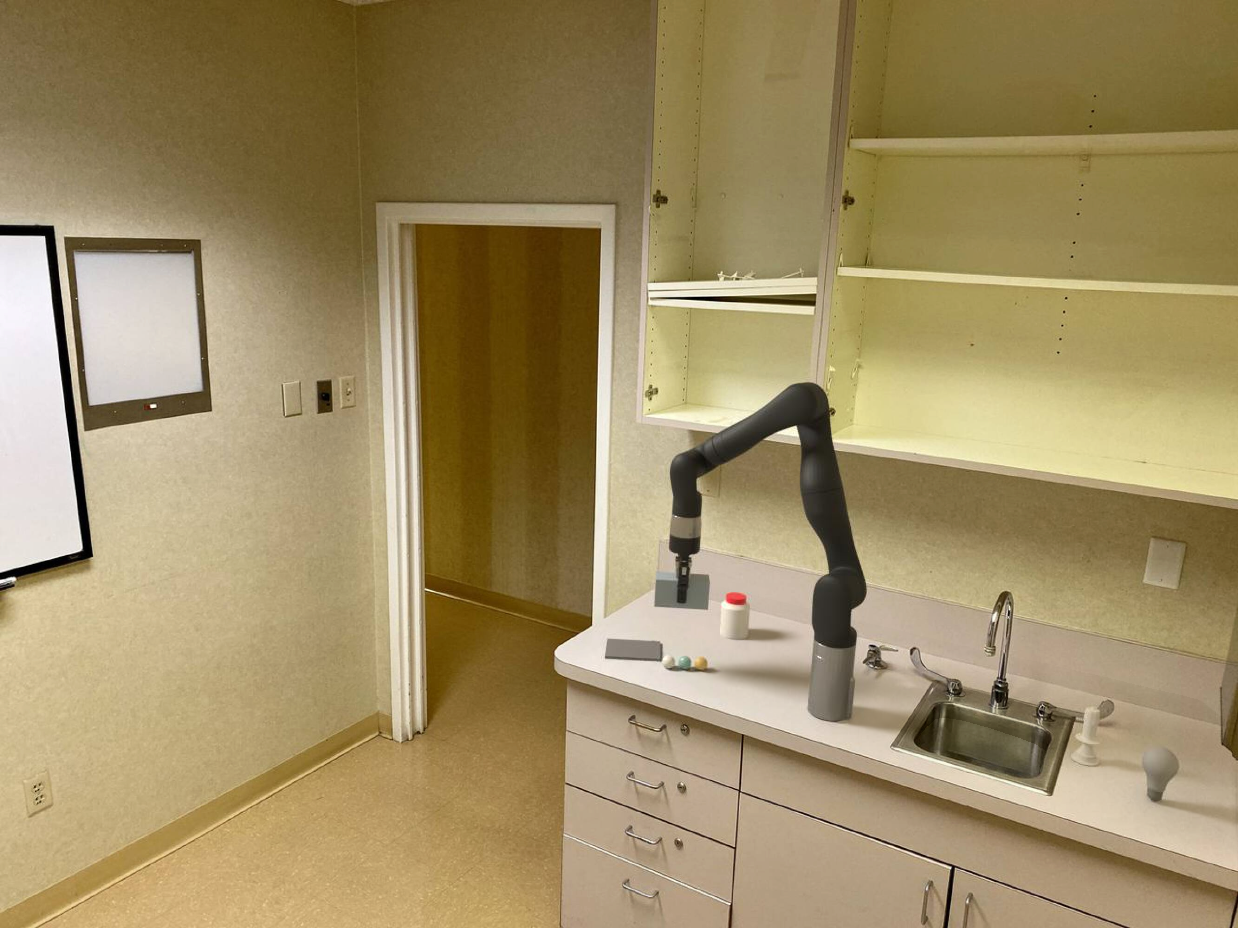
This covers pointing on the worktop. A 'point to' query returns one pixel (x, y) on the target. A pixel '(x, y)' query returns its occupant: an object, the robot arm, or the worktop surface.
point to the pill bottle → (734, 616)
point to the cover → (668, 591)
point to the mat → (633, 649)
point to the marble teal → (684, 662)
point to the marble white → (668, 661)
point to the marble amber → (701, 663)
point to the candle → (1088, 738)
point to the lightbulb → (1159, 770)
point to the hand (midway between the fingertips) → (681, 597)
